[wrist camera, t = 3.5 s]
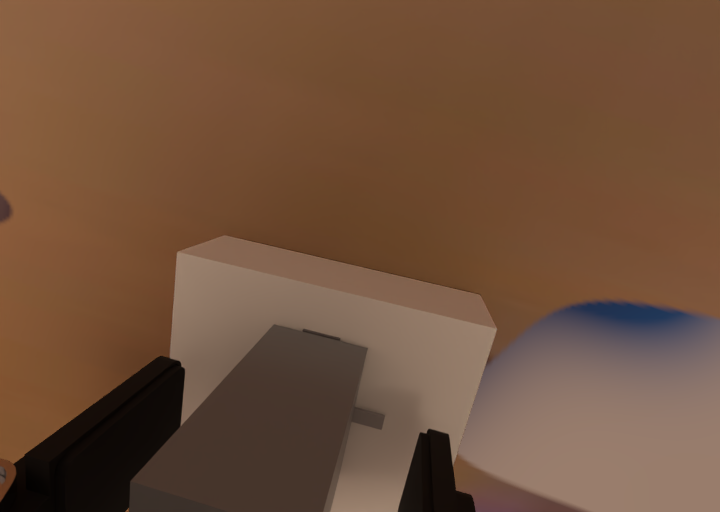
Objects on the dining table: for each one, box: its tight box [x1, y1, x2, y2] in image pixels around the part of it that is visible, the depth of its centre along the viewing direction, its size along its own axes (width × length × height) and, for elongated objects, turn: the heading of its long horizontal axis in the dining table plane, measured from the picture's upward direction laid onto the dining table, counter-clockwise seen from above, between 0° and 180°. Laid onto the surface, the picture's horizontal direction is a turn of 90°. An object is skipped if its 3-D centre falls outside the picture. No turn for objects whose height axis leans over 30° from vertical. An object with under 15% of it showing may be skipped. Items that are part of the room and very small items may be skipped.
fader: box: [129, 324, 368, 512], centre depth 9 cm, size 3×5×6 cm, turn 169°
